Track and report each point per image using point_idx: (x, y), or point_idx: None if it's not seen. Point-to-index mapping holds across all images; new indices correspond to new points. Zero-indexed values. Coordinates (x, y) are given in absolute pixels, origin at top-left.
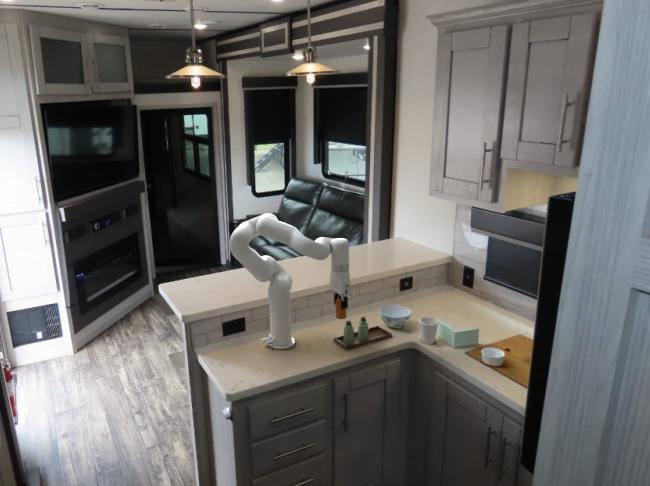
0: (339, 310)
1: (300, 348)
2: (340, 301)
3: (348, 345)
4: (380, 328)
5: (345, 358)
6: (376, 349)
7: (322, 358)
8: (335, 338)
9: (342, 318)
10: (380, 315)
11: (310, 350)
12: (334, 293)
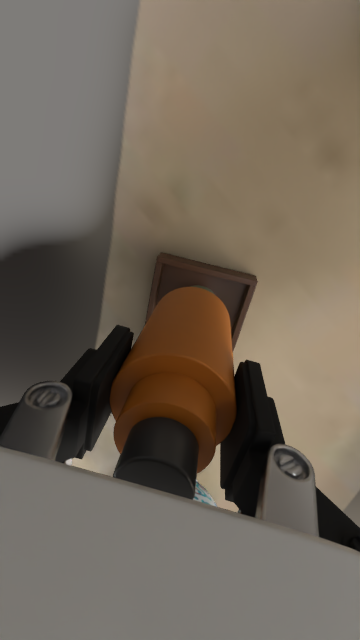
0: (159, 317)
1: (350, 86)
2: (138, 387)
3: (182, 287)
4: None
5: (119, 196)
6: (101, 335)
7: (186, 105)
8: (247, 281)
9: (157, 304)
10: (201, 498)
11: (288, 118)
12: (280, 485)
